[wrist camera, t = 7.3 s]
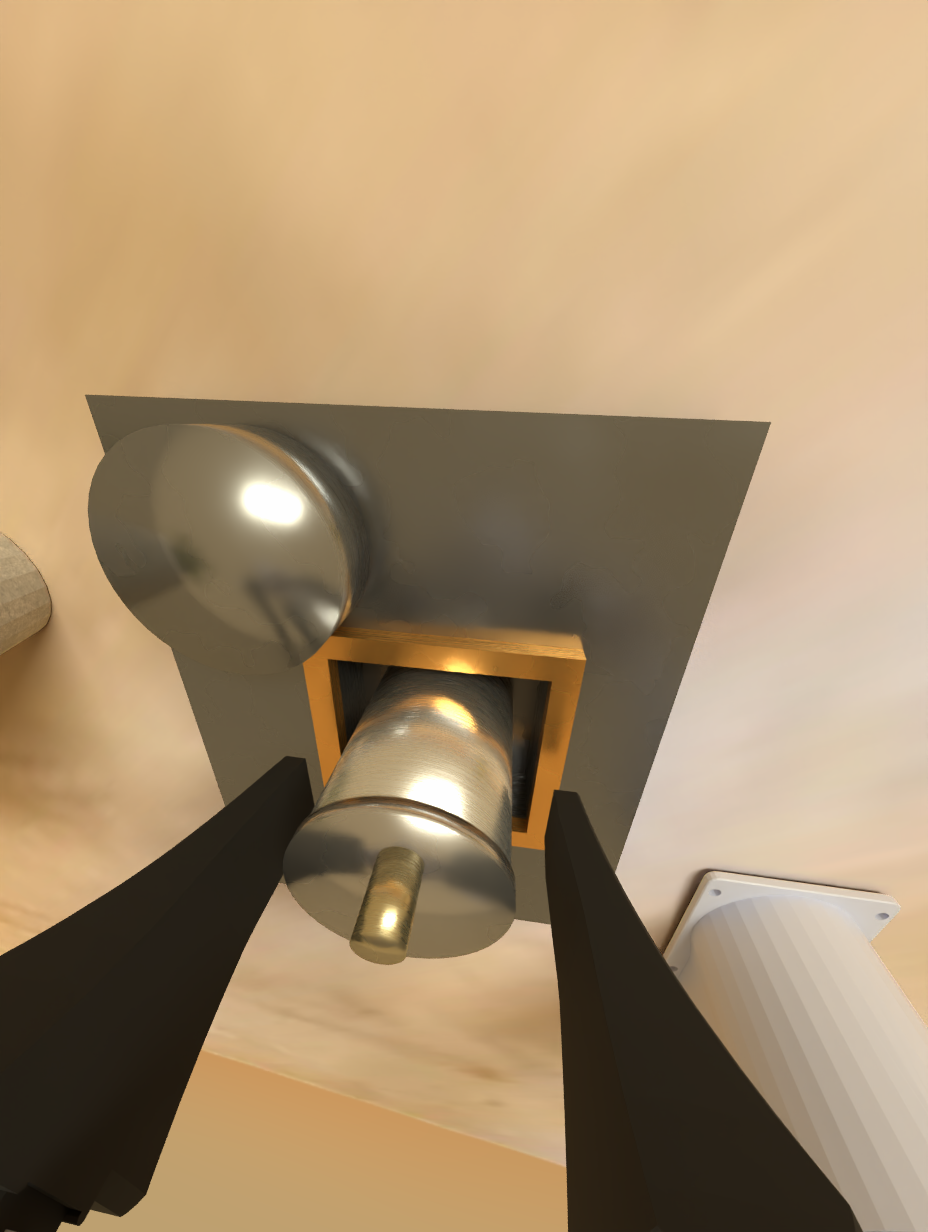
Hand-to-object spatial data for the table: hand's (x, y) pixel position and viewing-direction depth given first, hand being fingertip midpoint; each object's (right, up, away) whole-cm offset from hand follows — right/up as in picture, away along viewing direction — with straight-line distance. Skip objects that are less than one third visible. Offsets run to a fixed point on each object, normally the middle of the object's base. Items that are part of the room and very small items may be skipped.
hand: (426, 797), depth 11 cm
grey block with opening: (0, +2, +4) cm, 5 cm away
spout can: (0, +2, +4) cm, 4 cm away
